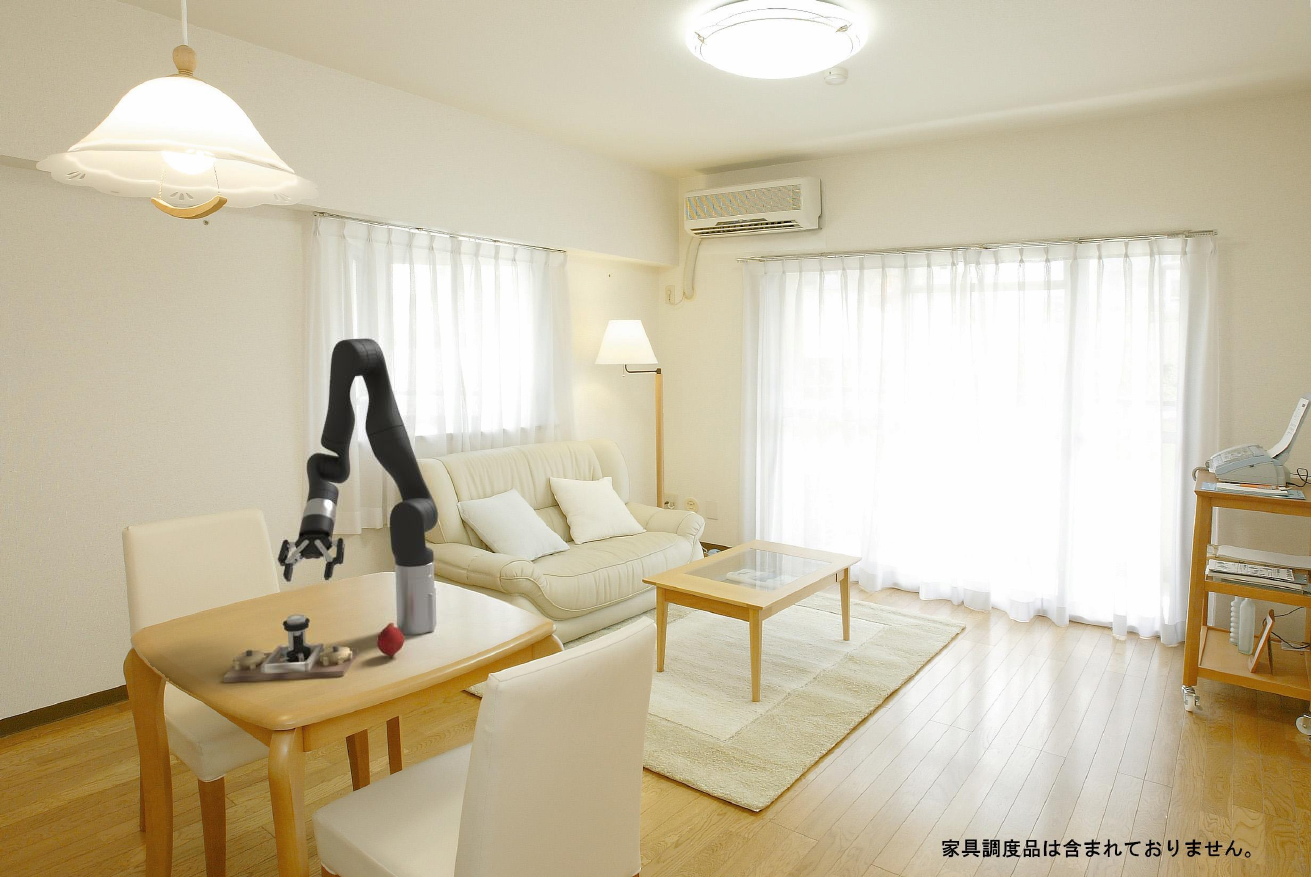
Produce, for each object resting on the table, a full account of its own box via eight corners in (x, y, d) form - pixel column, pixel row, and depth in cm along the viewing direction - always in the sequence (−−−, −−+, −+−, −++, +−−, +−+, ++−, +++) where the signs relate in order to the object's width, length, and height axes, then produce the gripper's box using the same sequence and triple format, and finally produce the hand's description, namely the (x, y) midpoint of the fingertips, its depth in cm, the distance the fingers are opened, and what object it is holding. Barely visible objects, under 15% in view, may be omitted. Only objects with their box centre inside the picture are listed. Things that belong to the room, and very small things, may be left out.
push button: (287, 669, 165) (285, 624, 164) (273, 663, 168) (271, 619, 167) (316, 659, 170) (314, 616, 169) (302, 654, 173) (300, 611, 172)
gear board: (358, 653, 177) (358, 635, 177) (345, 676, 165) (344, 657, 164) (244, 659, 174) (243, 641, 173) (221, 682, 161) (220, 663, 160)
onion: (388, 663, 172) (387, 628, 171) (372, 658, 175) (370, 623, 174) (409, 655, 177) (408, 621, 176) (392, 650, 180) (392, 616, 179)
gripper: (283, 513, 185) (270, 572, 175) (345, 511, 188) (335, 570, 178) (291, 530, 191) (278, 588, 181) (351, 528, 193) (342, 585, 183)
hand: (307, 579), depth 179 cm, fingers open, 8 cm apart
